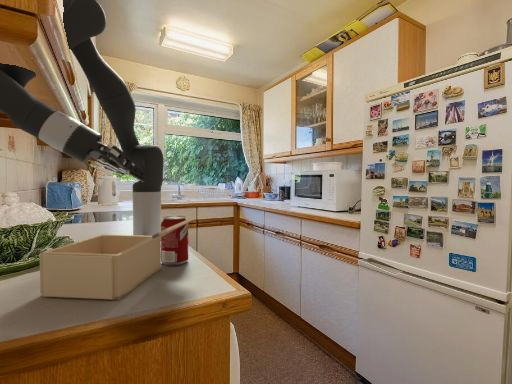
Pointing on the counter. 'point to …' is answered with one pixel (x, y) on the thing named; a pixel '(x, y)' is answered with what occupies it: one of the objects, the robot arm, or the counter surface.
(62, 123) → the robot arm
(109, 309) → the counter surface
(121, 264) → the carton
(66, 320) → the counter surface
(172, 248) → the soda can
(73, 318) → the counter surface
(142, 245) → the flap
